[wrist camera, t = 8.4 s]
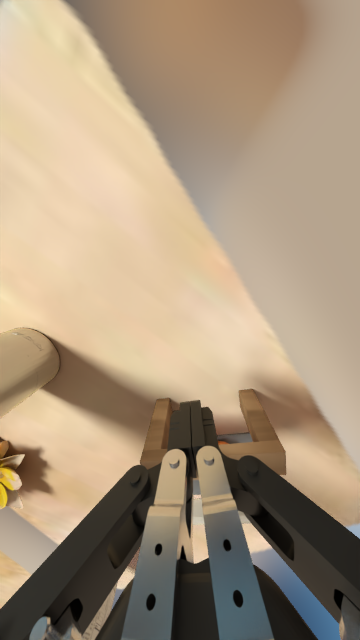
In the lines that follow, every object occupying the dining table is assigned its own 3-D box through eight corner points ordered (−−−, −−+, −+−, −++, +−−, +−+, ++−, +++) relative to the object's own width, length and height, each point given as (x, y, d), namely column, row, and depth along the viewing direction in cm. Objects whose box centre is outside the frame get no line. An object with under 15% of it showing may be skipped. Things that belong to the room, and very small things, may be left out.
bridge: (254, 405, 26) (286, 474, 17) (160, 415, 28) (146, 482, 19) (252, 389, 25) (285, 451, 17) (156, 399, 27) (139, 462, 18)
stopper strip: (266, 503, 31) (273, 522, 29) (180, 506, 33) (179, 525, 31) (266, 495, 31) (272, 514, 29) (178, 499, 33) (177, 517, 30)
